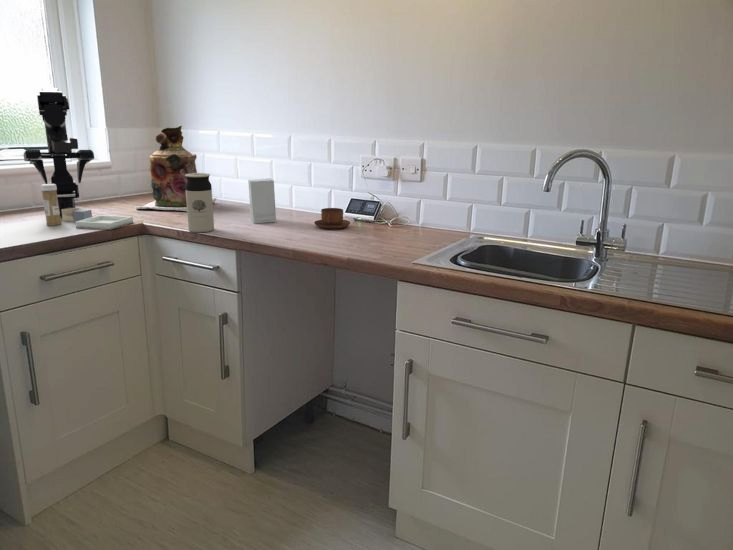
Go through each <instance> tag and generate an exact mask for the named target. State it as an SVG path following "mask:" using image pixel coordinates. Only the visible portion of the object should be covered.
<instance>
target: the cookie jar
mask: <svg viewBox="0 0 733 550" xmlns="http://www.w3.org/2000/svg"><path fill="white" fill-rule="evenodd" d="M182 127H183V126H182V125H181V124H179V125H178V126H176V127H168V126H167V127H165V128H163V129H161V130H160V132H159V133H157V134H155V141H156V142H157V143H158V144H160V146H159V150H156V151H154V152H153V153H152V154H151V155H149V163H150V165H149V166H150V167H149V171H150V177H151V180H150V181H151V184H150V185H151V186H150V187H151V188H152V197H153V199H154V200H153V201H151V202H149V203H147V204H144V205H142V206H139V205H138V206H135V207H134V208H135V210H140V209H141V210H145V209H146V210H147V209H152V210H158V211H159V210H160V211H161V210H162V211H183V212H187V202H186V188H185V185H186V182H187V178H186V176H185V175H186V174H192V173H198V170H197V165H196V160H197V157H198V156H197V154H196V153H192V152H190V151H188V150H186V148H185V147H183V141H184V136H183V132H182ZM216 200H217V197H215V198H214V197H212V202H213V204H216Z"/></svg>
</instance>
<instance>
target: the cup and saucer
mask: <svg viewBox="0 0 733 550" xmlns="http://www.w3.org/2000/svg"><path fill="white" fill-rule="evenodd" d="M320 210H321V211H320V213H321V216H320V217H321V219H319V220H318V219H317V220H315V221H314V222H313V223H314V225H315V226H316V227H318V228H320V229H325V230H339V229H343V228H347V227H348V226H349V225H350V224H351V221H350V220H348V219H344V209H343V208H339V207H326V208H322V209H320Z"/></svg>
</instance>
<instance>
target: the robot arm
mask: <svg viewBox="0 0 733 550" xmlns="http://www.w3.org/2000/svg"><path fill="white" fill-rule="evenodd" d="M36 97H37V105H38V112H39V116H42V117H41V118H42V121H43V122H44V130H45V135H46V136H45V137H46V144H47V151H48V152H47V151H45V152H42V151H41V149H26V150H25V151H24V152H23V161H24V162H29V165H33V166H34V167H35V169H36V170H37V171H38V173H39V174H40V176H41V178H42V179H43V180H42V181H43V182H44V184H56V187H57V191H56V192H57V198H58V204H59V211H60V217H62V210H61V209H66V208H76V203H75V202H76V201H75V200H76V199H78V198H80V191H79V185H78V184H81V182H82V177H83V173H84V170H85V166H86V164H89V163H90V162H91V161H93V160H94V159H95V153H94V151H93V150H92V149H79V142H78V141H79V140H78V138H77V137H69V138H68V132H67V126H66V125H67V123H66V117H67V116H68V114H67V112H68V110H70V103H69V99H68V97H67V96H66V95H65V94H63V91H61V90H59V88H56V87H42V88H41V90H39V93H38V94H36ZM73 150H77V152H73ZM43 159H46V160H47V159H49V160H50V159H52V161H53V167H54V170H53V172H52V174H51V176H50V182H49V183H48V178H47V173H46V170H45V166H44V160H43ZM67 159H76V160H78V161H77V162H76V171H77V173H76V174H77V182H78V184H77V183H76V181H74V178H73V175H72V174H71V173H70V172H69V170H68V168H67V167H68V166H67Z"/></svg>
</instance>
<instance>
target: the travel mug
mask: <svg viewBox="0 0 733 550" xmlns="http://www.w3.org/2000/svg"><path fill="white" fill-rule="evenodd" d="M185 176H186V178H187V182H186V185H185V188H186V202H187V211H186V213H187V225H188V226H187V227H188V231H190V232H192V233H209V232H212V231H213V230H215V222H214V221H215V220H214V205H213V204H214V203H213V202H212V198H213V187H212V183H211V181H210V176H211V174H210V173H205V172H201V173H200V172H199V173H198V172H197V173H192V174H186V175H185Z"/></svg>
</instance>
